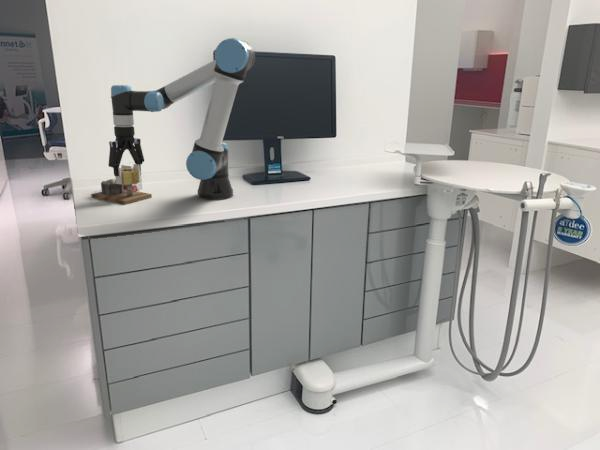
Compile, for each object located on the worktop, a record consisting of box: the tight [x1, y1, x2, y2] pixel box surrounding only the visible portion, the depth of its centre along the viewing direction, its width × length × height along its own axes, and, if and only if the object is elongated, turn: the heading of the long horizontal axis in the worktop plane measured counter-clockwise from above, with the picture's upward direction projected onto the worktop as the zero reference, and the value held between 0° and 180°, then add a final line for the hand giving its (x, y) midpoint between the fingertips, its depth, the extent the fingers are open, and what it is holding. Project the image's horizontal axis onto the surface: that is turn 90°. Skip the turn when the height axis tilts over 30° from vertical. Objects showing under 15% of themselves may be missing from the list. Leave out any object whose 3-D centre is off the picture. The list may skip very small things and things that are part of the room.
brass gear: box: [121, 168, 140, 185], centre depth 195 cm, size 9×9×5 cm
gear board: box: [90, 178, 153, 205], centre depth 199 cm, size 20×14×7 cm
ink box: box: [120, 161, 143, 191], centre depth 212 cm, size 9×5×12 cm, turn 168°
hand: (128, 181), depth 196 cm, fingers closed on brass gear, 9 cm apart
